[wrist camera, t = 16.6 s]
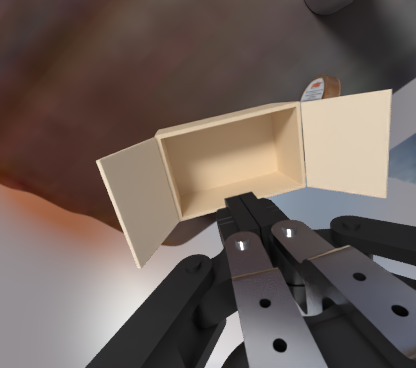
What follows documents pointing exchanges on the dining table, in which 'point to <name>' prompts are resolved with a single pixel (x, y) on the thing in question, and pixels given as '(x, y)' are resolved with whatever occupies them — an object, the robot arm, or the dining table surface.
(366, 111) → the back flap
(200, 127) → the carton
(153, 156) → the front flap
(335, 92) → the tin
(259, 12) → the dining table surface
